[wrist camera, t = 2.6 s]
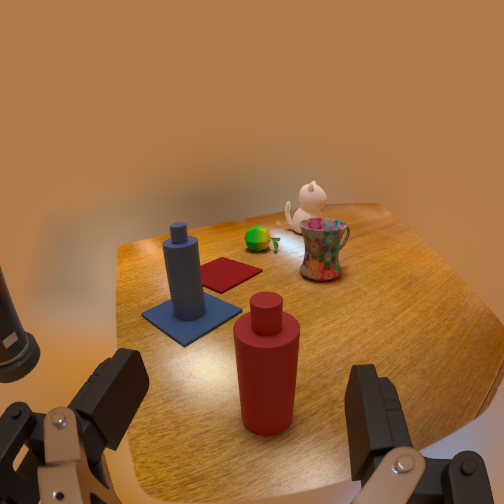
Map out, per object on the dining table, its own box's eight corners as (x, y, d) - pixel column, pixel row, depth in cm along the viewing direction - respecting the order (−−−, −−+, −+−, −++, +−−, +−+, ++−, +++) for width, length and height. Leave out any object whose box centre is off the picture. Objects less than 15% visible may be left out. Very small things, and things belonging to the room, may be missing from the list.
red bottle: (271, 444, 23) (273, 328, 18) (231, 419, 26) (216, 302, 21) (302, 411, 27) (314, 295, 21) (263, 391, 30) (260, 277, 25)
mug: (316, 289, 52) (319, 233, 48) (289, 271, 60) (289, 221, 56) (361, 273, 57) (366, 224, 53) (332, 259, 65) (335, 214, 61)
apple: (243, 220, 70) (280, 221, 68) (248, 231, 76) (282, 231, 74) (239, 248, 68) (277, 249, 66) (245, 256, 74) (280, 258, 72)
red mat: (221, 294, 52) (220, 291, 52) (181, 276, 59) (181, 274, 59) (262, 271, 60) (262, 269, 60) (222, 258, 68) (222, 256, 67)
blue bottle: (187, 324, 42) (173, 232, 37) (168, 312, 45) (153, 226, 40) (212, 310, 46) (203, 222, 40) (192, 300, 49) (181, 218, 44)
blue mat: (184, 347, 38) (183, 344, 37) (141, 315, 45) (140, 313, 45) (242, 311, 46) (242, 309, 46) (195, 290, 53) (194, 287, 53)
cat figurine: (324, 238, 79) (325, 184, 74) (280, 234, 83) (280, 182, 78) (327, 229, 87) (328, 180, 81) (287, 226, 91) (287, 179, 86)
